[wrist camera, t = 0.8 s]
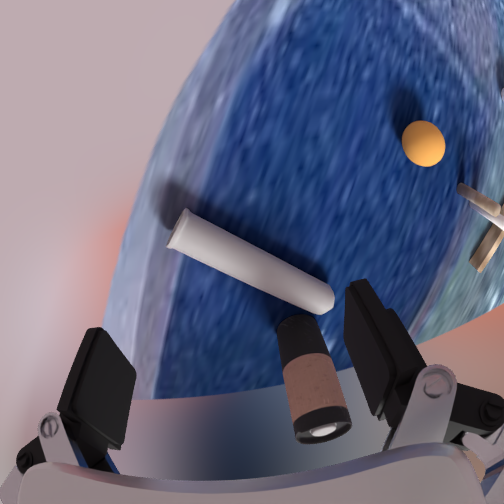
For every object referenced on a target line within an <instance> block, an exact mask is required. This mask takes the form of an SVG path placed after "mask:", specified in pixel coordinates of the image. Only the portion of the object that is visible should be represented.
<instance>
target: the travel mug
mask: <svg viewBox="0 0 504 504" xmlns="http://www.w3.org/2000/svg"><path fill="white" fill-rule="evenodd" d="M277 338H278V345H279V351H280V358H281V364H282V371H283V377H284V382H285V386H286V391H287V396H288V401H289V406H290V411H291V416H292V421H293V426H294V431H295V438H296V441H297V442H298V443H301V444H317V443H322V442H327V441H330V440H333V439H335V438H337V437H340V436H342V435H343V434H345V433H347V432H348V431H349V430H350V429H351V427H352V422H351V419H350V415H349V412H348V409H347V406H346V402H345V399H344V396H343V393H342V390H341V386H340V383H339V380H338V377H337V374H336V371H335V368H334V365H333V362H332V359H331V356H330V354H329V351H328V349H327V346H326V344H325V341H324V339H323V336H322V334H321V331H320V329H319V326H318V324H317V322H316V320H315V319H314V318H313V317H311V316H309V315H305V314H299V315H294V316H291V317H288V318H286V319H285V320H284V321H282V322H281V323H280V325H279V326H278V329H277Z"/></svg>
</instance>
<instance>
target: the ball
mask: <svg viewBox="0 0 504 504" xmlns="http://www.w3.org/2000/svg"><path fill="white" fill-rule="evenodd" d="M402 146H403V150H404V152H405V154H406V155H407V157H408V158H409V159H410V160H411V161H412V162H414V163H415V164H417V165H420V166H432V165H434V164H436V163H438V162H439V161H440V160H441V158H442V157H443V155H444V151H445V141H444V138H443V135H442V133H441V132H440V130H439V129H438V128H437V127H436V126H435V125H433V124H432V123H429V122H427V121H415V122H412V123H411V124H409V125H408V126H407V127H406V128H405V130H404V132H403V135H402Z"/></svg>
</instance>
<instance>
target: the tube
mask: <svg viewBox="0 0 504 504" xmlns="http://www.w3.org/2000/svg"><path fill="white" fill-rule="evenodd" d="M166 247H167V248H169V249H170V248H173V249H175V250H178V251H180V252H182V253H184V254H186V255H188V256H190V257H192V258H194V259H196V260H198V261H200V262H202V263H204V264H206V265H209V266H211V267H213V268H215V269H217V270H219V271H221V272H223V273H225V274H228V275H230V276H232V277H234V278H236V279H238V280H240V281H243V282H245V283H247V284H249V285H251V286H253V287H256V288H258V289H260V290H262V291H264V292H267V293H269V294H271V295H273V296H275V297H278V298H280V299H282V300H284V301H287V302H289V303H291V304H293V305H296V306H298V307H300V308H302V309H305V310H307V311H309V312H311V313H315V314H319V315H321V314H324V313H326V312H327V311H329V310H330V309H331V308H333V305H334V299H335V296H334V292H333V290H332V289H331V287H330V285H328V284H326V283H324V282H322V281H320V280H318V279H317V278H315V277H313V276H311V275H309V274H307V273H305V272H303V271H301V270H300V269H298V268H296V267H294V266H292V265H290V264H288V263H286V262H284V261H283V260H281V259H279V258H277V257H275V256H273V255H271V254H269V253H267V252H265V251H264V250H262V249H260V248H258V247H256V246H254V245H252V244H250V243H248V242H246V241H244V240H243V239H241V238H239V237H237V236H235V235H233V234H231V233H229V232H227V231H225V230H223V229H222V228H220V227H218V226H216V225H214V224H212V223H210V222H208V221H206V220H204V219H202V218H200V217H199V216H197V215H195V214H193V213H191V212H190V210H189V209H187V208H185V209H184V210H183V212H182V214H181V215H180V217H179V219H178V221H177V223H176V225H175V226H174V229H173V231H172V233H171V235H170V237H169V239H168V242H167V245H166Z"/></svg>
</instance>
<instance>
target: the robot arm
mask: <svg viewBox="0 0 504 504" xmlns="http://www.w3.org/2000/svg"><path fill="white" fill-rule="evenodd" d="M344 342H345V345H346V348H347V350H348V353H349V355H350V358H351V360H352V363H353V366H354V368H355V371H356V373H357V376H358V379H359V381H360V384H361V387H362V389H363V392H364V395H365V398H366V400H367V403H368V406H369V408H370V411H371V414H372V415H373V416H376V415H377V417H378V420H379V421H381V420H384V419H386V420H387V422H388V425H389V426H390V427H391V428H390V431H389V433H388V435H387V438H386V440H385V442H384V444H383V446H382V448H381V450H380V452H379V453H375V454H372V455H368V456H365V457H361V458H358V459H354V460H351V461H347V462H343V463H339V464H335V465H331V466H327V467H322V468H318V469H313V470H308V471H303V472H298V473H292V474H286V475H280V476H272V477H264V478H255V479H244V480H227V481H180V480H164V479H152V478H143V477H135V476H128V475H121V474H120V473H119V471H118V470H117V468H116V466H115V465H114V463H113V461H112V460H111V458H110V456H109V454H108V452H107V450H108V448H110V449H115V450H121V445H122V444H123V443H124V439H125V433H126V427H127V420H128V416H129V410H130V405H131V400H132V395H133V390H134V385H135V381H136V371H135V369H134V367H133V366H132V365H131V364H130V362H129V361H128V360H127V358H126V357H125V356H124V355H123V353H122V352H121V351H120V349H119V348H118V347H117V345H116V344H115V342H114V341H113V340H112V338H111V337H110V335H109V334H108V333H107V331H105V330H104V329H103V328H101V327H97V328H89V329H88V330H87V331H86V334H85V336H84V338H83V340H82V343H81V345H80V347H79V350H78V352H77V355H76V357H75V360H74V362H73V365H72V367H71V370H70V372H69V375H68V378H67V380H66V384H65V386H64V389H63V392H62V395H61V398H60V401H59V404H58V407H57V410H58V411H59V412H60V415H58V414H57V413H54V412H49V413H47V414H45V415H44V416H43V417H42V419H41V420H40V422H39V425H38V435H39V436H37V437H36V438H35V439H34V440H32V441H31V442H30V443H29V444H27V445H26V446H25V447H23V448H22V449H21V450H20V451H19V453H18V455H17V458H16V464H17V466H14V468H13V469H12V471H11V472H10V474H9V475H8V477H7V478H6V480H5V481H4V483H3V484H2V486H1V488H0V499H1V501H2V503H3V504H504V399H503V398H502V397H501V396H499V395H497V394H495V393H491V392H487V391H484V390H480V389H477V388H473V387H470V386H466V385H463V384H460V383H457V380H456V377H455V375H454V373H453V372H452V371H451V370H450V369H449V368H448V367H446V366H443V365H438V364H435V365H429V366H427V365H426V363H425V361H424V360H423V358H422V356H421V354H420V353H419V351H418V349H417V347H416V346H415V344H414V342H413V340H412V339H411V337H410V335H409V334H408V332H407V330H406V329H405V327H404V325H403V324H402V322H401V320H400V319H399V317H398V316H397V314H396V312H395V311H394V310H393V309H391V308H388V309H385V308H384V306H383V304H382V303H381V301H380V299H379V298H378V296H377V295H376V293H375V291H374V290H373V288H372V287H371V285H370V284H369V282H368V281H367V279H361V280H357V281H353V282H350V286H349V287H346V290H345V317H344ZM462 450H466V451H468V450H471V451H473V452H474V453H475V454H477V455H478V456H477V458H478V459H480V460H481V461H482V462H483V463H484V465H485V469H486V471H485V476H484V478H483V480H482V481H481V483H480V482H479V479H478V477H477V475H476V472H475V470H474V468H473V466H472V464H471V462H470V461H469V459H468V458H467V456H466V455H465V453H464V452H463V451H462Z"/></svg>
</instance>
